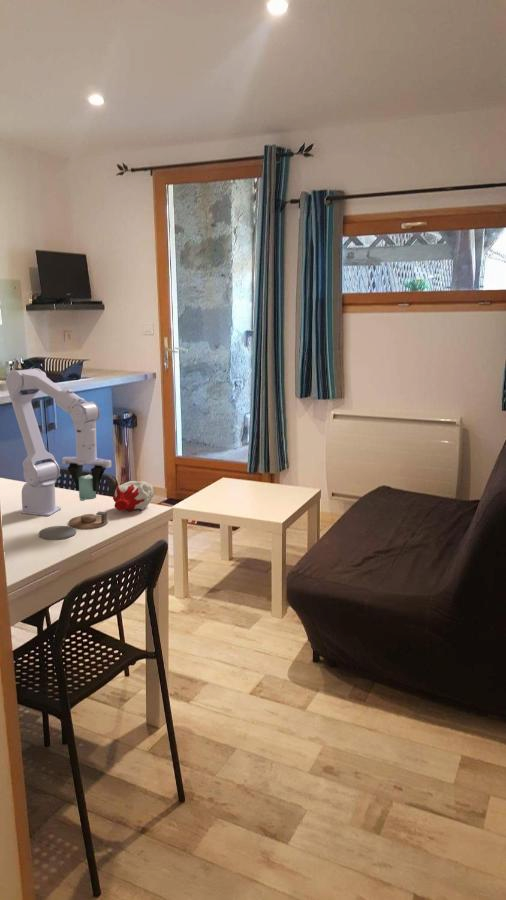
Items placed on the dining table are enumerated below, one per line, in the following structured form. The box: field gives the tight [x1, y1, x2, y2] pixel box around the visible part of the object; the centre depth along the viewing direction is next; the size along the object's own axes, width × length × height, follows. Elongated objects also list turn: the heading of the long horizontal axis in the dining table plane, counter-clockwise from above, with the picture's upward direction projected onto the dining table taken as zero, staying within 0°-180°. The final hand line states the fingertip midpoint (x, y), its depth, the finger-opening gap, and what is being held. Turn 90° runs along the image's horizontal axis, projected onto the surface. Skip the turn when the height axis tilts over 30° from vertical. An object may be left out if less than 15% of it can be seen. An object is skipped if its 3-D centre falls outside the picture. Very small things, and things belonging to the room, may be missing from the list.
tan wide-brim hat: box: [68, 511, 109, 530], centre depth 193 cm, size 11×11×4 cm
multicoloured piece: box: [112, 480, 155, 512], centre depth 205 cm, size 9×11×15 cm
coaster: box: [38, 525, 77, 541], centre depth 184 cm, size 10×10×1 cm
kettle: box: [78, 474, 97, 502], centre depth 190 cm, size 6×5×6 cm
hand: (87, 489), depth 191 cm, fingers closed on kettle, 5 cm apart
